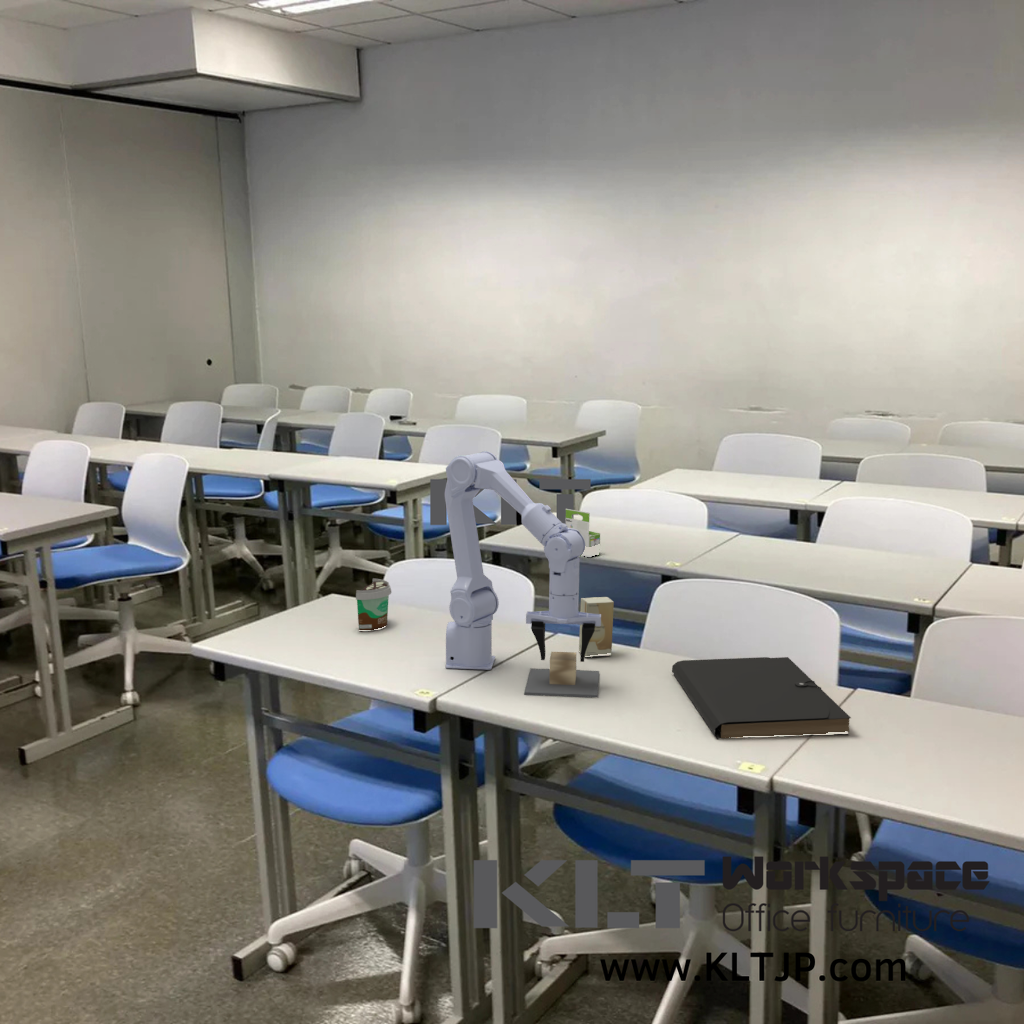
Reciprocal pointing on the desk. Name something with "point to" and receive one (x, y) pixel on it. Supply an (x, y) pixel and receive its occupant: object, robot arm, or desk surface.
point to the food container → (373, 605)
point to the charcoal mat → (583, 685)
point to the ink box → (582, 527)
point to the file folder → (758, 697)
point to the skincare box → (603, 633)
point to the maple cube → (563, 668)
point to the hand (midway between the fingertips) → (562, 659)
